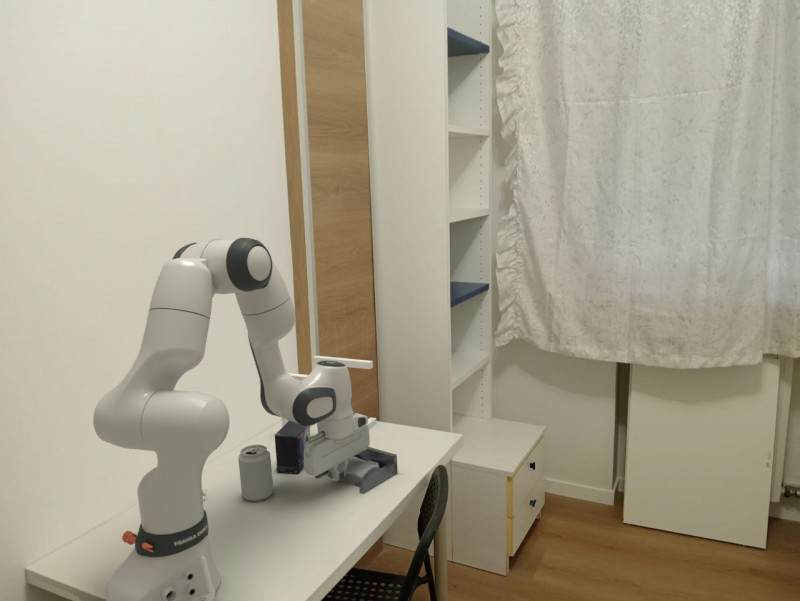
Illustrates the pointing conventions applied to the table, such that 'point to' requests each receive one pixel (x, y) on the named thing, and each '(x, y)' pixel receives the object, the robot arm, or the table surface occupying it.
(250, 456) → the can
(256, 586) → the table surface
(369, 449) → the grey u-shaped bracket
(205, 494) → the adhesive hook
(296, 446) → the small box
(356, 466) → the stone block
